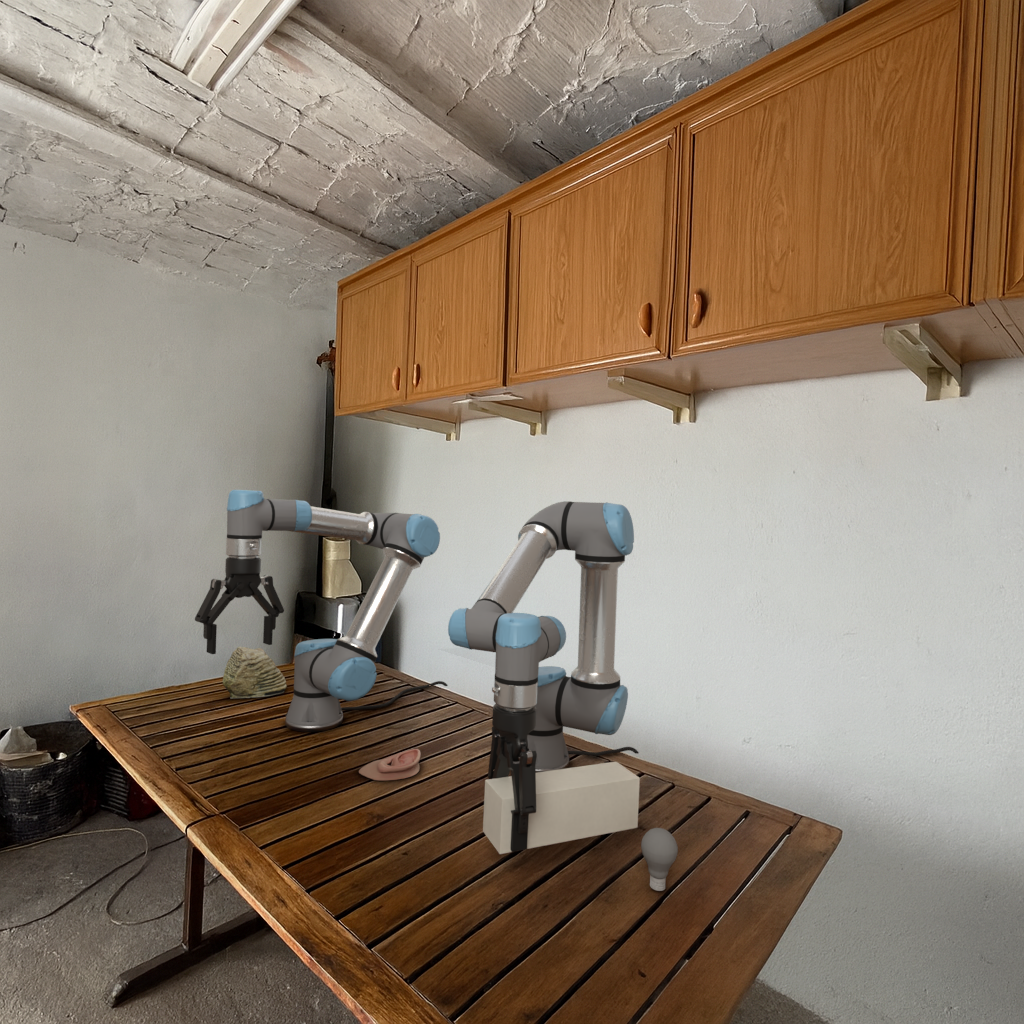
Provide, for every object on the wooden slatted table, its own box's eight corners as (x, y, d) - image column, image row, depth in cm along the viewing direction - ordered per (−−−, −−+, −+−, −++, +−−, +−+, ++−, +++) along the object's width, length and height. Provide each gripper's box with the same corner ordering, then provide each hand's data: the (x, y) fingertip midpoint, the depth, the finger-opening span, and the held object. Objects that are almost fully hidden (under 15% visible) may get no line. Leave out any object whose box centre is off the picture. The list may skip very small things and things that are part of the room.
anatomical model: (353, 759, 143) (374, 741, 154) (352, 777, 143) (373, 757, 154) (408, 767, 140) (426, 748, 152) (408, 785, 140) (425, 764, 152)
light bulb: (635, 878, 109) (637, 820, 109) (668, 878, 110) (671, 820, 109) (645, 900, 103) (648, 839, 103) (680, 900, 104) (683, 839, 103)
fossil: (218, 695, 195) (220, 647, 195) (278, 685, 208) (279, 640, 207) (228, 703, 189) (230, 653, 188) (289, 692, 201) (290, 645, 201)
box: (614, 808, 122) (616, 761, 122) (637, 827, 115) (639, 777, 115) (482, 831, 111) (485, 779, 111) (499, 854, 104) (502, 799, 104)
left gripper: (196, 560, 134) (193, 660, 134) (300, 555, 153) (297, 643, 154) (180, 557, 139) (177, 653, 139) (283, 553, 158) (280, 637, 158)
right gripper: (473, 689, 117) (467, 811, 117) (519, 727, 98) (512, 873, 98) (510, 686, 120) (504, 806, 120) (562, 722, 101) (555, 864, 101)
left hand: (240, 648), depth 146 cm, fingers open, 13 cm apart
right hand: (508, 836), depth 109 cm, fingers closed on box, 8 cm apart
